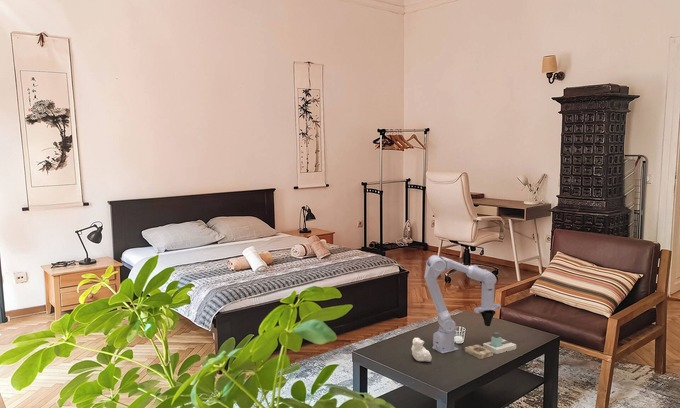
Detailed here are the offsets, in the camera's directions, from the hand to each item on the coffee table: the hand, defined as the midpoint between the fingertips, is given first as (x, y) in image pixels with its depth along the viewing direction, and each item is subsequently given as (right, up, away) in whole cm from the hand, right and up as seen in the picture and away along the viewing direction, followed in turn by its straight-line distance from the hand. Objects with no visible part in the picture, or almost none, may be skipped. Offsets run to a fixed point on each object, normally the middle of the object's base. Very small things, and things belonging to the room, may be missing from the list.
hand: (487, 325), depth 245 cm
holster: (-6, -11, -7) cm, 14 cm away
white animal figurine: (-33, -13, -12) cm, 37 cm away
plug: (+3, -11, -2) cm, 11 cm away
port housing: (+5, -10, -1) cm, 12 cm away
